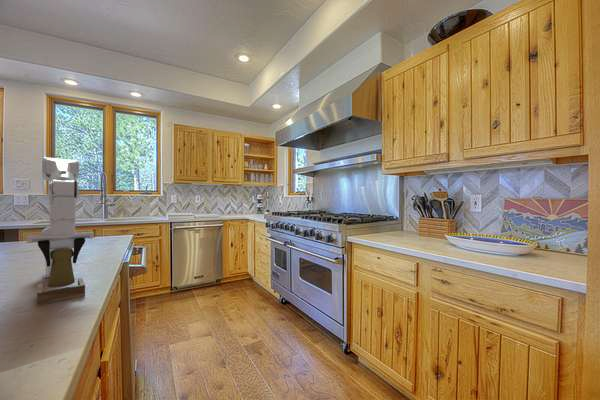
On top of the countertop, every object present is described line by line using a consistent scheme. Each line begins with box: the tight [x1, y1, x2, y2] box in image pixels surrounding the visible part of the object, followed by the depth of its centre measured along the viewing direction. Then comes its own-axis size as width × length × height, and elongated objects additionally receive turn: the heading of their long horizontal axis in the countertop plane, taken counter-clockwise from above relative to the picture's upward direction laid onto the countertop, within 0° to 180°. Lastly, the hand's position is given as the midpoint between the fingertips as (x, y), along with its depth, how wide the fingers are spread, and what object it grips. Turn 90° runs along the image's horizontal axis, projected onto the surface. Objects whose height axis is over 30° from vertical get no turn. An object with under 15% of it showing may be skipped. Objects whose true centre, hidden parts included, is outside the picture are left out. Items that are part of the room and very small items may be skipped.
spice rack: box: [36, 277, 86, 306], centre depth 75 cm, size 10×10×3 cm
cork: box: [47, 248, 76, 289], centre depth 76 cm, size 6×6×11 cm
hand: (61, 264), depth 76 cm, fingers closed on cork, 5 cm apart
